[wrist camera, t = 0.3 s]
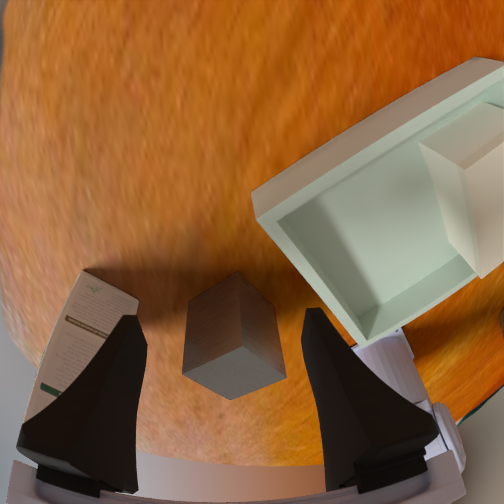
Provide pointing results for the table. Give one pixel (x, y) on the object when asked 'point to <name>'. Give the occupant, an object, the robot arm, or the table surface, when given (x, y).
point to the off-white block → (471, 183)
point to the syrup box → (77, 337)
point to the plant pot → (502, 321)
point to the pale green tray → (377, 208)
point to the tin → (232, 339)
